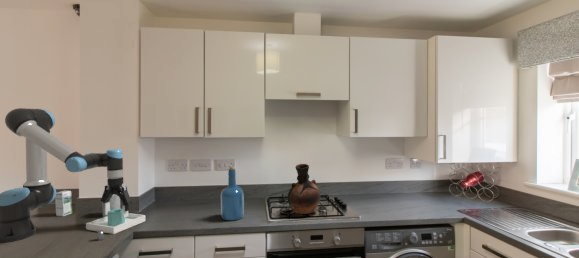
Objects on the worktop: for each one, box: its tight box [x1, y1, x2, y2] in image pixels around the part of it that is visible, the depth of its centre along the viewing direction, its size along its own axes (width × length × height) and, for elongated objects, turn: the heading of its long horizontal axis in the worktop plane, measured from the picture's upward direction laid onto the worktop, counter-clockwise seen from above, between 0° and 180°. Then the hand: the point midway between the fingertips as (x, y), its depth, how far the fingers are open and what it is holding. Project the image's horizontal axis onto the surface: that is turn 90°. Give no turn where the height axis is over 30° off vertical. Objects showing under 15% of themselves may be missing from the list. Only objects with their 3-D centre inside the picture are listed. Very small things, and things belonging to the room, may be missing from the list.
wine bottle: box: [220, 166, 245, 221], centre depth 169 cm, size 14×13×30 cm
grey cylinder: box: [101, 194, 121, 218], centre depth 177 cm, size 10×10×12 cm
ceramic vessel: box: [286, 163, 322, 215], centre depth 175 cm, size 21×18×30 cm
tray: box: [85, 212, 146, 235], centre depth 159 cm, size 20×20×3 cm
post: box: [96, 230, 104, 241], centre depth 140 cm, size 2×2×4 cm
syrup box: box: [54, 190, 73, 217], centre depth 178 cm, size 6×6×14 cm
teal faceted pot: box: [107, 208, 125, 226], centre depth 159 cm, size 8×8×7 cm
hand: (116, 215), depth 159 cm, fingers open, 13 cm apart
